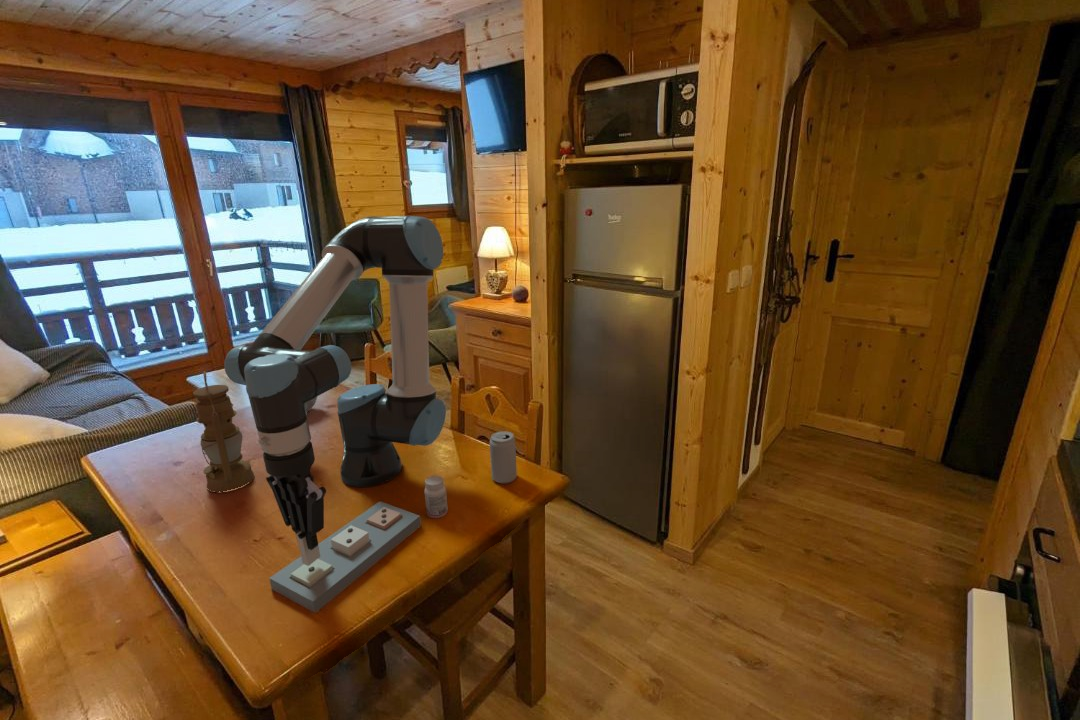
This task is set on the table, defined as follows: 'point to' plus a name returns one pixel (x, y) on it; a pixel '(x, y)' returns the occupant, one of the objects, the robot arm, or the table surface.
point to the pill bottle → (435, 496)
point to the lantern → (221, 439)
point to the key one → (311, 573)
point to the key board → (345, 559)
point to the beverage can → (503, 457)
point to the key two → (350, 541)
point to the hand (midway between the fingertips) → (311, 559)
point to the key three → (384, 518)
